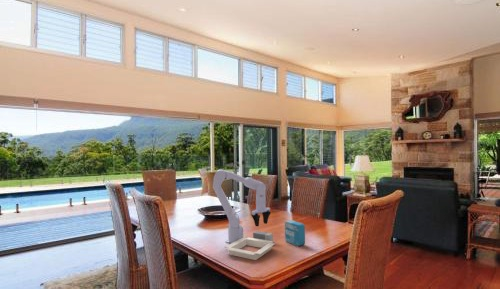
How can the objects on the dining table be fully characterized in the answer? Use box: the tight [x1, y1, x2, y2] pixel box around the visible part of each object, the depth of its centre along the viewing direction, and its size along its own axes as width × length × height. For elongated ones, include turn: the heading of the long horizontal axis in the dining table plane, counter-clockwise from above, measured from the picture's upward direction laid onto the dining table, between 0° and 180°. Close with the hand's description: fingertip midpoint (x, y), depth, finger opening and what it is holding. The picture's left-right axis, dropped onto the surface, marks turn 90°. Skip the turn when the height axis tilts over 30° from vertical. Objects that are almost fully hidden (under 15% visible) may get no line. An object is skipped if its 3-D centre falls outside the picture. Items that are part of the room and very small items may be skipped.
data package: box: [284, 220, 306, 247], centre depth 167 cm, size 12×4×12 cm, turn 36°
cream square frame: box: [224, 237, 276, 261], centre depth 154 cm, size 22×21×4 cm
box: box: [252, 230, 274, 242], centre depth 171 cm, size 4×11×5 cm, turn 60°
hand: (261, 224), depth 173 cm, fingers open, 7 cm apart
